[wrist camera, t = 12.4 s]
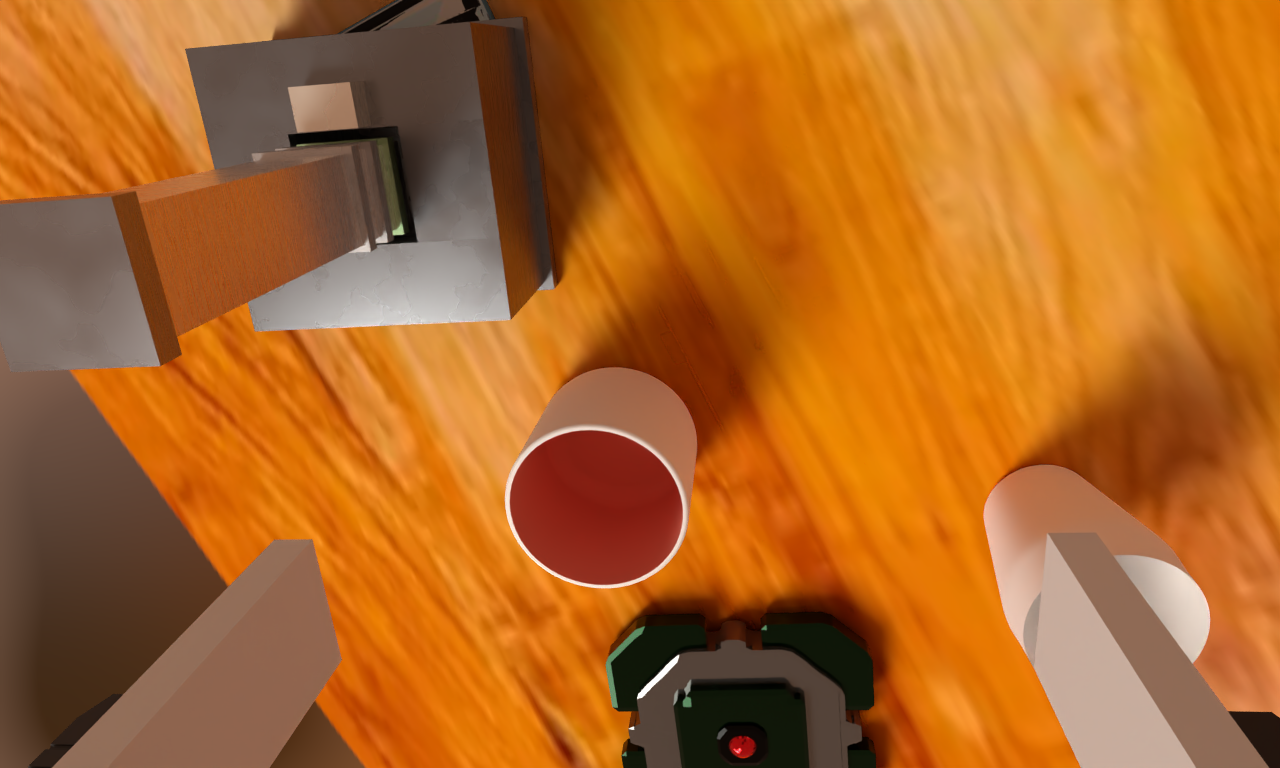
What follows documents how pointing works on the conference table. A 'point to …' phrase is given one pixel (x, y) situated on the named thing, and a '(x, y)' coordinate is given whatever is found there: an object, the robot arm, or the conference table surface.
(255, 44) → the housing
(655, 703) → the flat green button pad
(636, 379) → the cup
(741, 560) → the conference table surface
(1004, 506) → the cup
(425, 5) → the smartphone
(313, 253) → the column
